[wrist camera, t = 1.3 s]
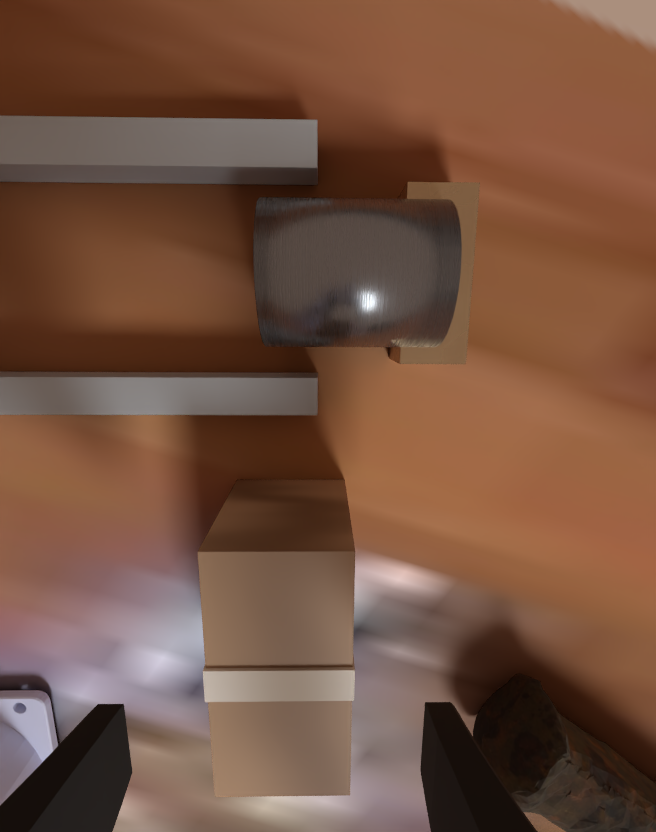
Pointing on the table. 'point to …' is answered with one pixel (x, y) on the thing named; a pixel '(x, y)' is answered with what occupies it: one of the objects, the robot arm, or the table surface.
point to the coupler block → (279, 638)
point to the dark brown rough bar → (560, 765)
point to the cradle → (158, 163)
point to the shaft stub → (369, 271)
